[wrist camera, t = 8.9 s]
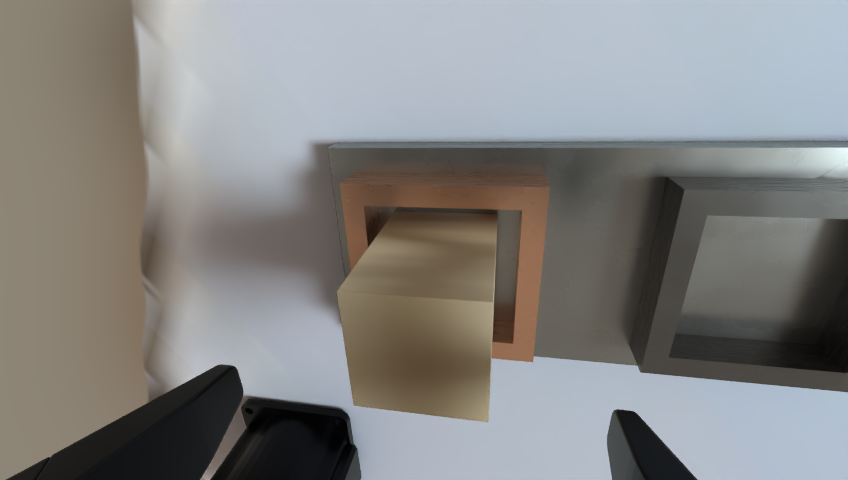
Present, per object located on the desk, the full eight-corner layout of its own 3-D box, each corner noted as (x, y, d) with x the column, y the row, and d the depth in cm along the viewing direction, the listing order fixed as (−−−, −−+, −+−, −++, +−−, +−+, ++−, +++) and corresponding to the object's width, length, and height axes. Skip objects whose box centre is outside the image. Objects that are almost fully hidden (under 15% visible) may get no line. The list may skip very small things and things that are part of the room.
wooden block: (401, 297, 17) (353, 405, 12) (394, 211, 16) (336, 291, 10) (494, 304, 17) (488, 422, 11) (497, 214, 15) (492, 302, 10)
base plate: (360, 326, 20) (342, 360, 17) (337, 142, 16) (310, 156, 14) (833, 367, 16) (886, 417, 14) (945, 141, 12) (1042, 160, 10)
